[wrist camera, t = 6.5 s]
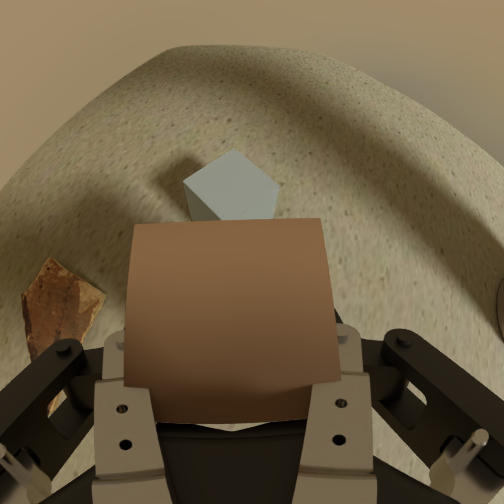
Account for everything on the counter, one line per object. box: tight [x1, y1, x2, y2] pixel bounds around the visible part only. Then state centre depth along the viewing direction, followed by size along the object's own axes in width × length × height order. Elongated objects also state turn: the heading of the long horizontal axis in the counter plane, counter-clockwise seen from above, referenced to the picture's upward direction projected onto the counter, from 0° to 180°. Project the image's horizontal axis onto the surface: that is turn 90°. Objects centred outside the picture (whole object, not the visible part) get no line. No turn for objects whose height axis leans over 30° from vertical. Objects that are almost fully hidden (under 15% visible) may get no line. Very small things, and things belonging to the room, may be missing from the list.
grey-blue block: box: [183, 148, 279, 221], centre depth 22 cm, size 4×4×5 cm
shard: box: [21, 258, 107, 416], centre depth 18 cm, size 11×8×2 cm
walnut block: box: [124, 218, 342, 424], centre depth 11 cm, size 4×4×10 cm
